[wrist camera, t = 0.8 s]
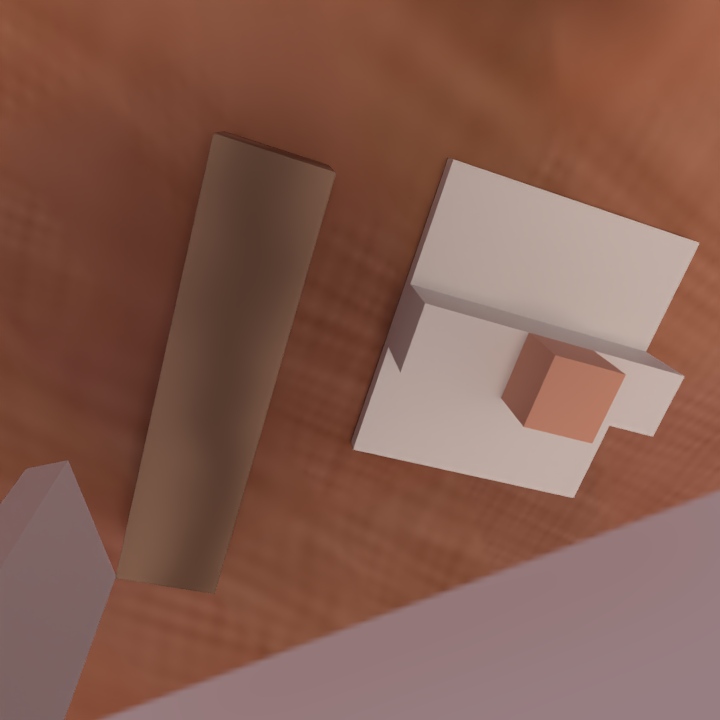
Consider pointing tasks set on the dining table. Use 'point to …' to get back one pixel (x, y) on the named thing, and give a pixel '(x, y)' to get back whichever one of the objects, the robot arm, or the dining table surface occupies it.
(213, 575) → the beam
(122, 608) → the dining table surface
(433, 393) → the stand
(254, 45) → the dining table surface
